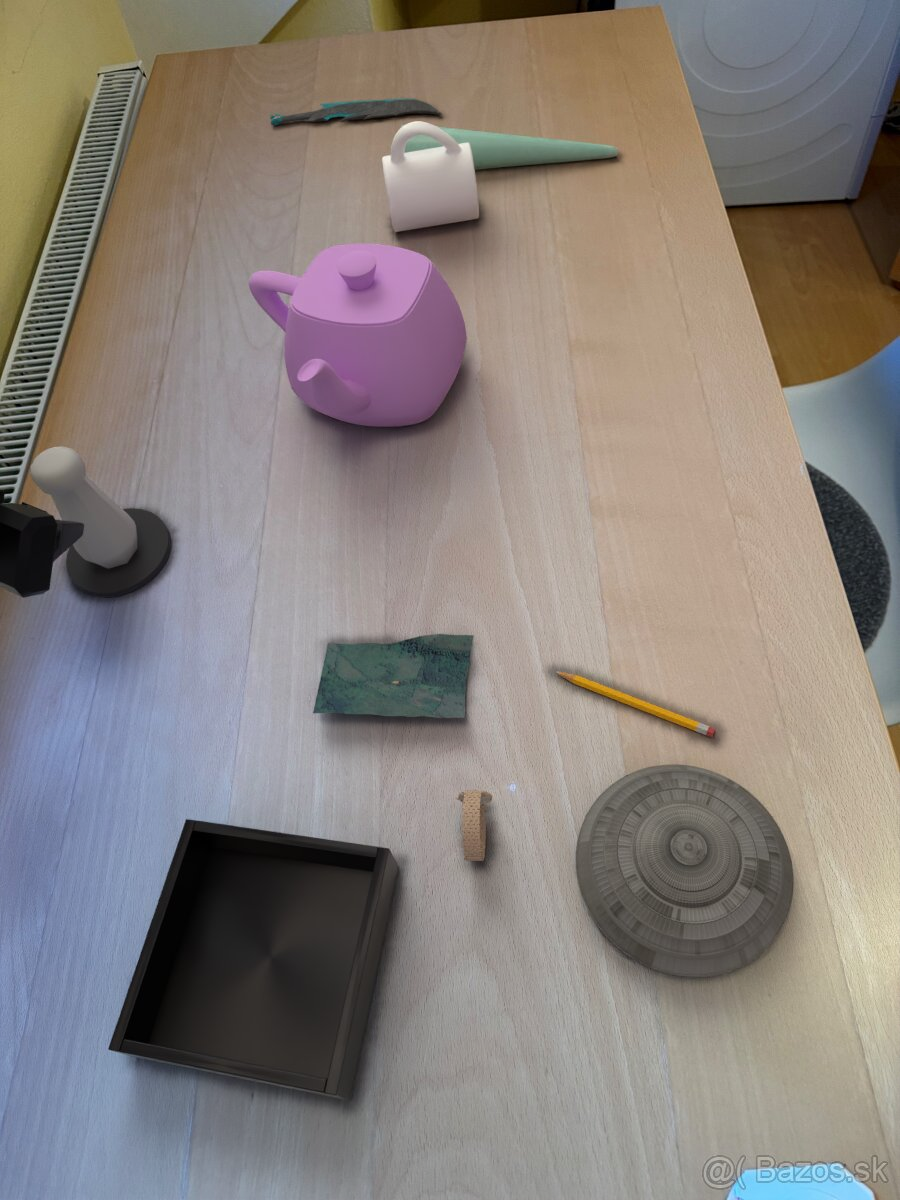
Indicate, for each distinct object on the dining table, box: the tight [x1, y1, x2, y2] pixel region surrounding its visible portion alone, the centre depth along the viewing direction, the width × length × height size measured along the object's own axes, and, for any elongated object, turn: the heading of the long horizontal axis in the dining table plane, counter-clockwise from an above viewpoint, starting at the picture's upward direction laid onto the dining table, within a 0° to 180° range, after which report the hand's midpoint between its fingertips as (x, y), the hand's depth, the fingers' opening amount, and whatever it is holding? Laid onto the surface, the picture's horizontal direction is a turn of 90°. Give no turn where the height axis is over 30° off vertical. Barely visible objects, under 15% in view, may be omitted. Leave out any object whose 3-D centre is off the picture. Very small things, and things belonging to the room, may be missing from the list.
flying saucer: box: [575, 764, 795, 978], centre depth 63 cm, size 15×15×6 cm
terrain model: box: [312, 633, 474, 719], centre depth 75 cm, size 13×8×2 cm, turn 86°
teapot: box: [248, 243, 468, 427], centre depth 88 cm, size 23×21×15 cm
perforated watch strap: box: [455, 789, 493, 862], centre depth 66 cm, size 3×5×5 cm, turn 178°
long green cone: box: [400, 124, 619, 171], centre depth 112 cm, size 5×6×27 cm
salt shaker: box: [29, 445, 137, 569], centre depth 81 cm, size 6×6×13 cm
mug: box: [381, 120, 480, 233], centre depth 105 cm, size 8×10×12 cm
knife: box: [269, 98, 443, 127], centre depth 125 cm, size 24×1×5 cm
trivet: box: [66, 507, 172, 598], centre depth 87 cm, size 10×10×1 cm
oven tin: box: [108, 818, 400, 1102], centre depth 63 cm, size 16×16×4 cm
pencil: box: [555, 671, 716, 738], centre depth 72 cm, size 1×13×1 cm, turn 63°
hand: (41, 512), depth 77 cm, fingers open, 9 cm apart
